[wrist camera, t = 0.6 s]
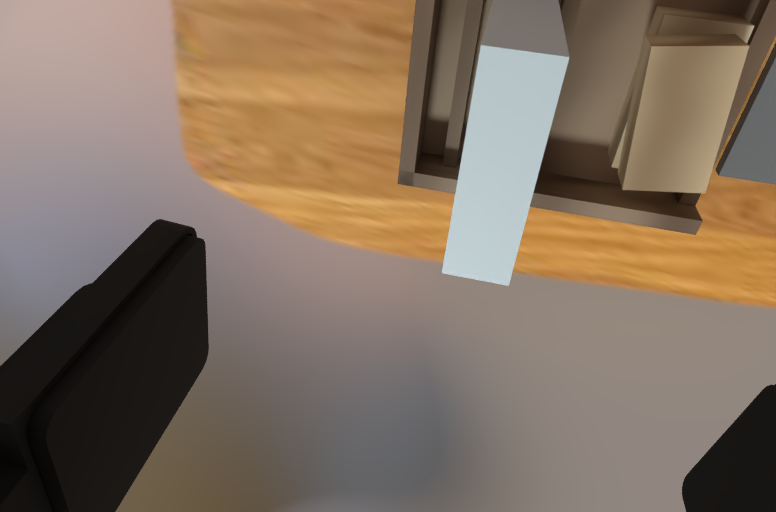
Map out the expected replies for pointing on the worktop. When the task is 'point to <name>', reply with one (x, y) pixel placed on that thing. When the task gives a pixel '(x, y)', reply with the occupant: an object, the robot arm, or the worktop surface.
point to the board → (505, 136)
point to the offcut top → (679, 110)
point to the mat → (755, 134)
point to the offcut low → (677, 24)
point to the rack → (574, 107)
